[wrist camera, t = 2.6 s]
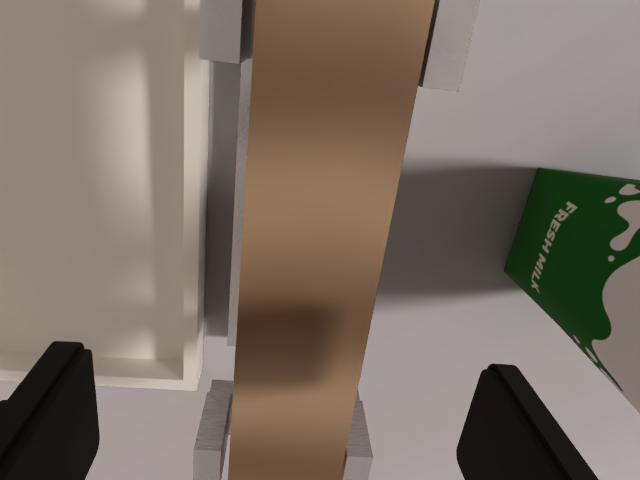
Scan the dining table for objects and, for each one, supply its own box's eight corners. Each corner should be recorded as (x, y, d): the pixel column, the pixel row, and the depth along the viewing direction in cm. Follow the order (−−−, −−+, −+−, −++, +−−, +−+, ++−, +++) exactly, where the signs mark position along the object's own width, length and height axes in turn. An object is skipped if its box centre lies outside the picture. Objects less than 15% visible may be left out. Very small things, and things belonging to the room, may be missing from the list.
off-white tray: (-118, -184, 19) (-171, -212, 17) (214, -128, 20) (205, -148, 18) (-8, 353, 30) (-31, 378, 28) (202, 365, 31) (196, 390, 29)
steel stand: (248, -50, 22) (197, -151, 10) (393, -28, 22) (507, -98, 10) (229, 334, 30) (190, 524, 19) (333, 341, 31) (358, 528, 19)
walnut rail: (272, -101, 13) (264, -157, 9) (412, -79, 13) (459, -123, 9) (235, 462, 21) (224, 550, 18) (319, 466, 22) (325, 552, 18)
